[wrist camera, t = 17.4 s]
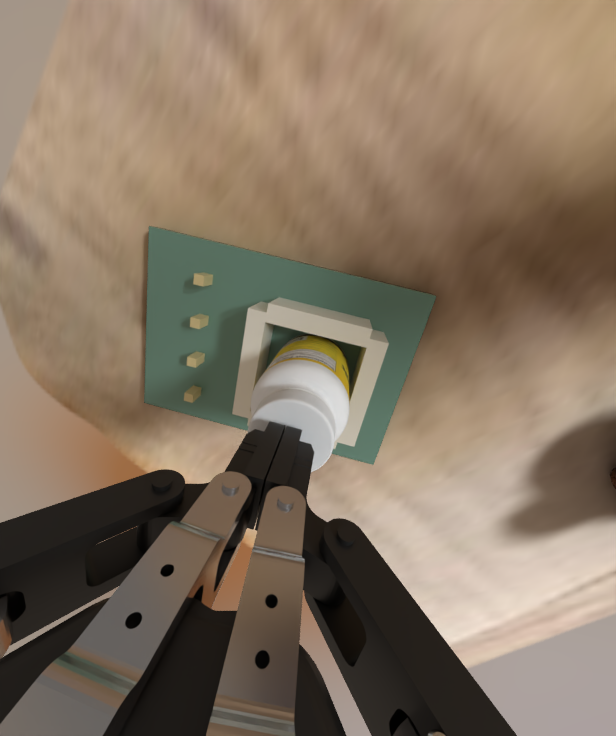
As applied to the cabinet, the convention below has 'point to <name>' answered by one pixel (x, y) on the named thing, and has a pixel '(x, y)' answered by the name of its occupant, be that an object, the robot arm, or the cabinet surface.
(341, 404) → the supplement bottle
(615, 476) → the decorative turtle
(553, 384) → the cabinet surface
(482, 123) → the cabinet surface
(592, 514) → the cabinet surface
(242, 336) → the header board
